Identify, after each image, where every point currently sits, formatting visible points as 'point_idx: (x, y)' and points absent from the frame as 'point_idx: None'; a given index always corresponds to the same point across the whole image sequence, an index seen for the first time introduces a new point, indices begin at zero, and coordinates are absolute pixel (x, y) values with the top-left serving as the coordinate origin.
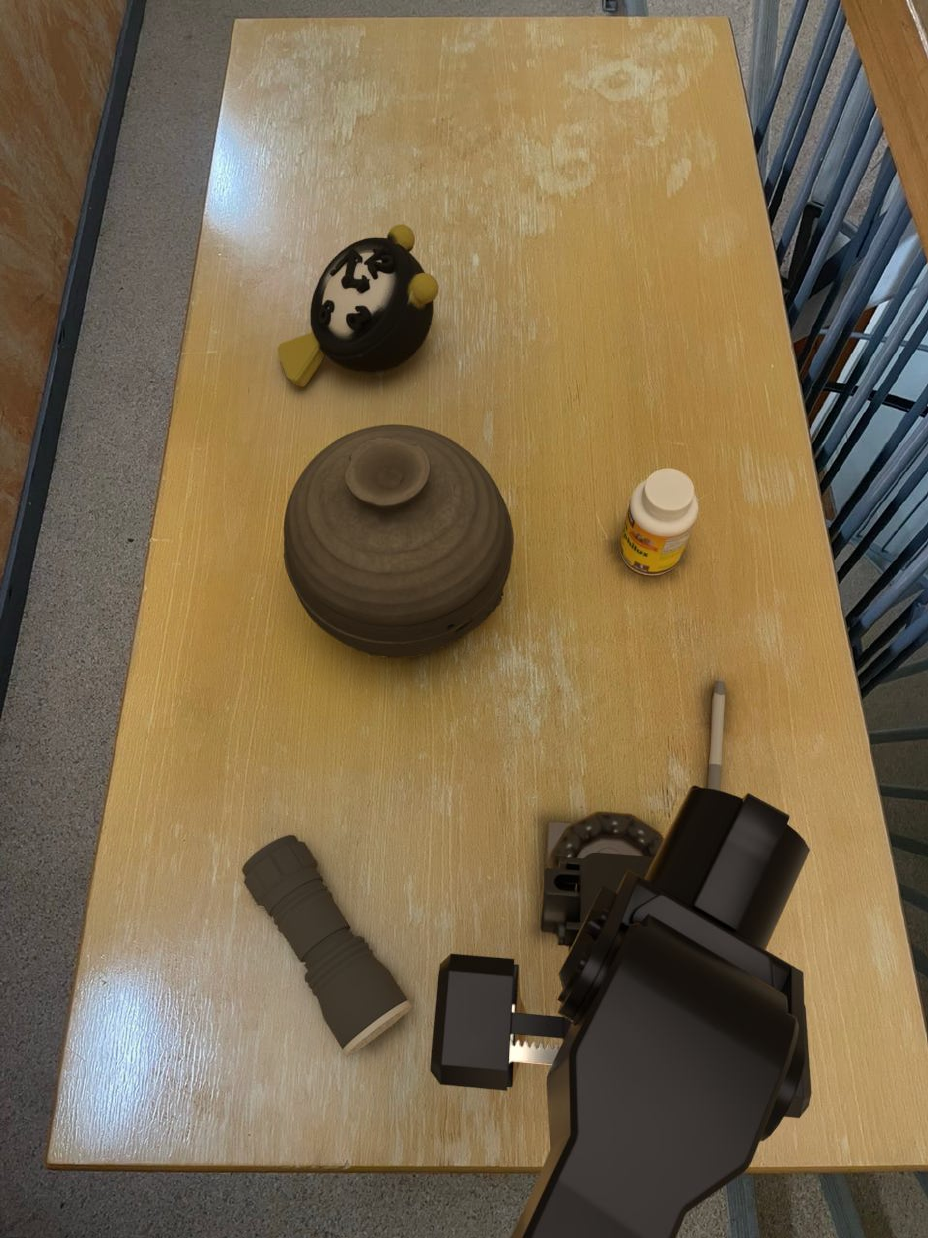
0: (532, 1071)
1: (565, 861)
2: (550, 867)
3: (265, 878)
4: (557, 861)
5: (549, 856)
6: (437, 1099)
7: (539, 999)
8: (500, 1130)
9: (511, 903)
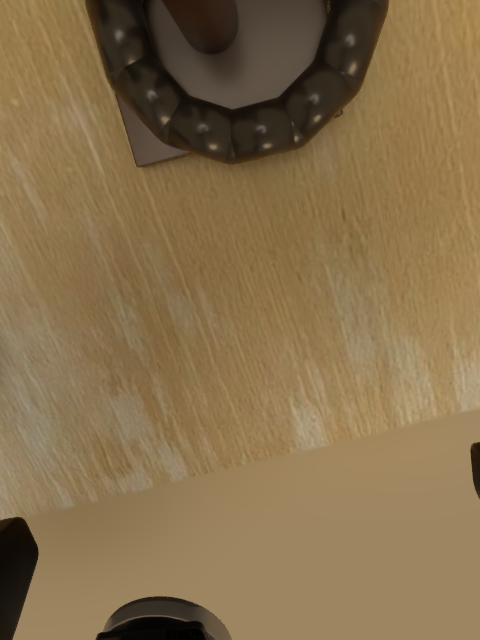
0: (197, 375)
1: (116, 5)
2: (94, 34)
3: None
4: (99, 12)
5: None
6: (85, 439)
7: (175, 279)
8: (178, 450)
9: (73, 137)
